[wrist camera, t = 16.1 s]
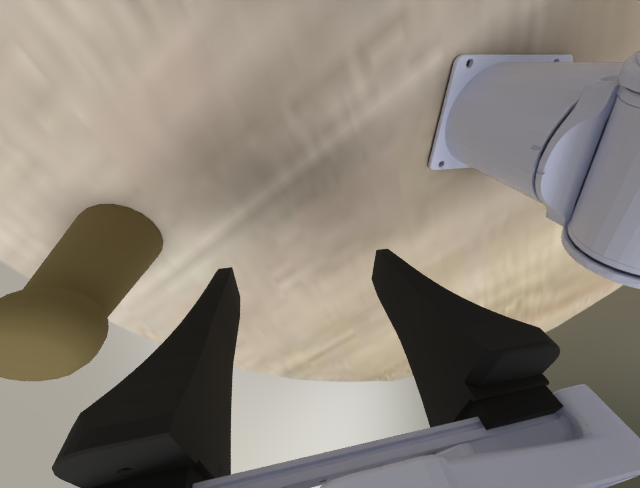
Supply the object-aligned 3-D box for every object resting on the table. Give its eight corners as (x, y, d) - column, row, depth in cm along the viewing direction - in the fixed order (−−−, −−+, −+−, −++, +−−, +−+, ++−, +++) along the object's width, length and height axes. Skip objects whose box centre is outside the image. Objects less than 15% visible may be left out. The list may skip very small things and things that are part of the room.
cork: (54, 225, 19) (-119, 362, 11) (121, 190, 19) (-3, 305, 10) (121, 275, 23) (35, 408, 14) (179, 247, 22) (126, 368, 14)
